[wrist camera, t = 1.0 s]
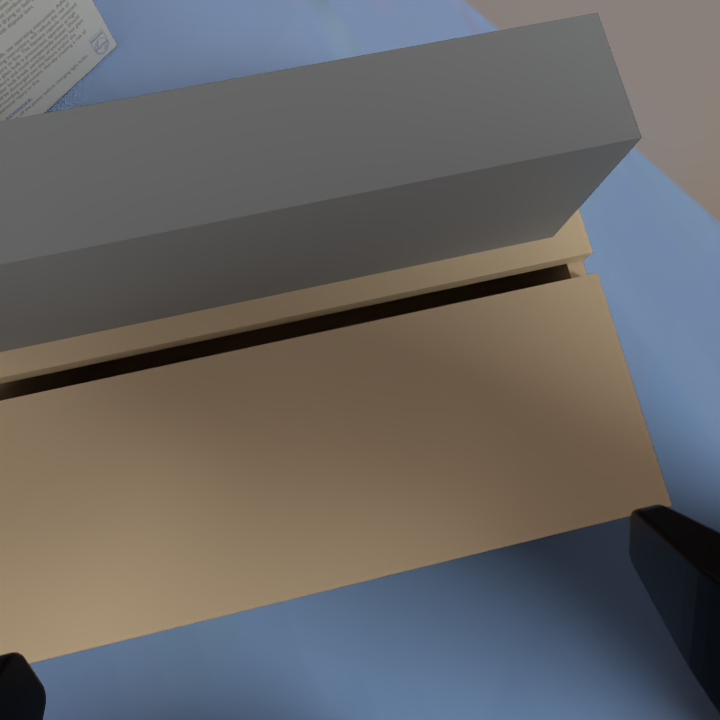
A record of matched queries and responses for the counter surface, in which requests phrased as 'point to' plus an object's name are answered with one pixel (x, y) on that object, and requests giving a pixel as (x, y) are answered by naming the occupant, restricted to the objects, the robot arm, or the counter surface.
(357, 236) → the grey stone
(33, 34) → the light bulb box
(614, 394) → the carton
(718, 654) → the robot arm
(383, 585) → the counter surface
